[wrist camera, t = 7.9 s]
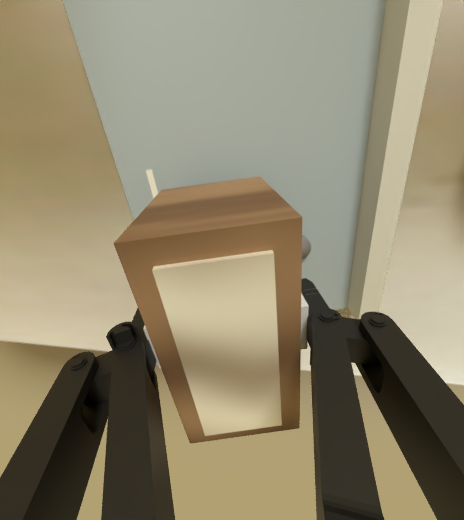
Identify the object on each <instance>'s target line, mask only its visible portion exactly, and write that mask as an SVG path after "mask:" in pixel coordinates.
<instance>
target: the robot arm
mask: <svg viewBox="0 0 464 520" xmlns="http://www.w3.org/2000/svg"><path fill="white" fill-rule="evenodd" d="M135 314H136V315H135V316H134V318H133V320H132V322H123V323H120V324H118V325H116V326H115V327H113V328H112V329H111V330H110V331H109V332H108V334H107V336H106V337H107V339H108V341H109V344H110V346H111V348H112V351H110V352H108V353H105V354H102V355H100V356H97V357H95V356H94V354H93V353H91V352H83V353H79V354H77V355H75V356H74V357H72V358H71V359H70V360H68V361H67V363H66V364H65V365H64V366H63V368H62V370H61V372H60V373H59V375H58V377H57V379H56V380H55V382H54V384H53V386H52V388H51V389H50V391H49V393H48V394H47V396H46V398H45V400H44V401H43V403H42V405H41V407H40V409H39V411H38V412H37V414H36V416H35V417H34V419H33V421H32V423H31V425H30V426H29V428H28V430H27V431H26V433H25V435H24V437H23V439H22V440H21V442H20V444H19V446H18V447H17V449H16V451H15V453H14V454H13V456H12V458H11V460H10V461H9V463H8V465H7V467H6V469H5V470H4V472H3V474H2V476H1V477H0V520H76V519H77V516H78V513H79V510H80V506H81V503H82V500H83V497H84V493H85V490H86V487H87V484H88V480H89V477H90V474H91V471H92V467H93V464H94V461H95V457H96V454H97V451H98V448H99V445H100V441H101V438H102V435H103V432H104V428H105V425H106V422H107V419H108V427H107V443H106V458H105V472H104V487H103V502H102V517H101V520H175V515H174V508H173V500H172V492H171V485H170V476H169V469H168V461H167V453H166V445H165V438H164V430H163V423H162V414H161V407H160V399H159V392H158V383H157V376H156V373H155V371H154V368H155V364H156V363H157V365H158V368H159V369H162V368H161V366H160V363H159V361H158V358H157V355H156V353H155V350H154V348H153V345H152V342H151V340H150V337H149V335H148V332H147V329H146V327H145V324H144V321H143V319H142V316H141V314H140V311H139V308H138V309H137V311H136V313H135ZM307 341H308V343H309V345H310V348H311V352H310V365H311V380H312V381H311V382H312V408H313V434H314V459H315V485H316V507H317V508H316V511H317V520H384V517H383V514H382V510H381V507H380V501H379V497H378V491H377V486H376V481H375V477H374V472H373V467H372V463H371V457H370V453H369V448H368V443H367V438H366V433H365V428H364V423H363V418H362V413H361V408H360V403H359V399H358V394H357V389H356V385H355V379H354V374H353V369H352V364H351V362H352V363H356V365H357V367H358V369H359V371H360V373H361V375H362V377H363V379H364V380H365V382H366V384H367V386H368V388H369V390H370V392H371V394H372V396H373V397H374V400H375V401H376V403H377V405H378V407H379V409H380V411H381V413H382V415H383V417H384V419H385V421H386V422H387V424H388V426H389V428H390V430H391V432H392V434H393V436H394V438H395V439H396V442H397V443H398V445H399V447H400V449H401V451H402V453H403V455H404V457H405V459H406V461H407V463H408V464H409V466H410V468H411V470H412V472H413V474H414V476H415V478H416V480H417V481H418V484H419V485H420V487H421V489H422V491H423V493H424V495H425V497H426V499H427V501H428V503H429V505H430V506H431V508H432V510H433V512H434V514H435V516H436V518H437V520H464V405H463V404H462V402H460V400H459V399H458V398H457V396H456V395H455V394H454V393H453V392H452V390H451V389H450V388H449V387H448V386H447V384H446V383H445V382H444V381H443V380H442V378H441V377H440V376H439V375H438V374H437V372H436V371H435V370H434V369H433V368H432V366H431V365H430V364H429V363H428V362H427V360H426V359H425V358H424V357H423V356H422V355H421V353H420V352H419V351H418V350H417V349H416V347H415V346H414V345H413V344H412V343H411V341H410V340H409V339H408V338H407V337H406V335H405V334H404V333H403V332H402V331H401V329H400V328H399V327H398V326H397V325H396V323H395V322H394V321H393V320H392V319H391V318H390V317H389V316H387V315H385V314H383V313H379V312H366V313H364V314H363V315H361V319H351V318H344V317H341V315H340V314H339V313H338V312H337V311H335V310H333V309H330V308H329V306H328V305H327V303H326V302H325V300H324V299H323V297H322V296H321V294H320V293H319V291H318V290H317V289H316V287H315V285H314V283H313V282H311V281H310V280H308V279H307V278H303V279H302V281H301V349H307Z"/></svg>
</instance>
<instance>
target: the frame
mask: <svg viewBox="0 0 464 520" xmlns="http://www.w3.org/2000/svg"><path fill="white" fill-rule="evenodd" d="M114 246H115V248H116V251H117V253H118V256H119V259H120V261H121V264H122V267H123V269H124V272H125V274H126V277H127V280H128V282H129V285H130V287H131V290H132V293H133V295H134V298H135V301H136V303H137V306H138V308H139V311H140V314H141V316H142V319H143V321H144V324H145V327H146V329H147V332H148V335H149V337H150V340H151V342H152V345H153V348H154V350H155V353H156V355H157V358H158V361H159V363H160V366H161V368H162V371H163V374H164V376H165V379H166V382H167V384H168V387H169V389H170V392H171V395H172V397H173V400H174V402H175V405H176V408H177V410H178V413H179V416H180V418H181V421H182V423H183V426H184V428H185V431H186V434H187V436H188V439H189V442H190V443H197V442H204V441H211V440H218V439H225V438H233V437H240V436H247V435H254V434H260V433H268V432H275V431H282V430H290V429H297V428H299V417H300V349H301V281H302V216H301V215H300V214H299V213H298V212H296V211H295V210H294V209H293V208H292V207H291V206H290V205H289V204H288V203H287V202H286V201H285V200H284V199H283V198H282V197H281V196H280V195H279V194H278V193H277V192H276V191H275V190H274V189H273V188H272V187H271V186H270V185H269V184H268V183H267V182H265V181H264V180H263V179H262V178H261V177H260V176H258V177H251V178H243V179H236V180H229V181H222V182H215V183H207V184H200V185H193V186H186V187H178V188H171V189H164V190H161V191H160V192H159V193H158V194H157V195H156V197H155V198H154V199H153V200H152V201H151V202H150V203H149V204H148V205H147V207H146V208H145V209H144V210H143V211H142V212H141V213H140V214H139V216H138V217H137V218H136V219H135V220H134V221H133V222H132V223H131V225H130V226H129V227H128V228H127V229H126V230H125V231H124V232H123V234H122V235H121V236H120V237H119V238H118V239H117V240H116V241H115V242H114Z"/></svg>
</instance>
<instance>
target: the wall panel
mask: <svg viewBox="0 0 464 520" xmlns="http://www.w3.org/2000/svg"><path fill="white" fill-rule="evenodd" d="M62 1H63V4H64V7H65V10H66V13H67V16H68V19H69V22H70V25H71V28H72V31H73V34H74V37H75V41H76V44H77V47H78V50H79V53H80V56H81V59H82V62H83V65H84V68H85V71H86V74H87V78H88V81H89V84H90V87H91V90H92V93H93V96H94V99H95V102H96V105H97V108H98V111H99V114H100V118H101V121H102V124H103V127H104V130H105V133H106V136H107V139H108V142H109V145H110V148H111V151H112V154H113V158H114V161H115V164H116V167H117V170H118V173H119V176H120V179H121V182H122V185H123V188H124V191H125V195H126V198H127V201H128V204H129V207H130V210H131V213H132V216H133V219H134V220H135V219H136V218H137V217H138V216H139V214H140V213H141V212H142V211H143V210H144V209H145V208H146V207H147V205H148V204H149V203H150V202H151V201H152V200H153V199H154V198H155V197H156V195H157V194H158V193H159V192H160V191H161V190H164V189H171V188H178V187H186V186H193V185H200V184H207V183H215V182H222V181H229V180H236V179H243V178H251V177H258V176H260V177H261V178H262V179H263V180H264V181H265V182H267V183H268V184H269V185H270V186H271V187H272V188H273V189H274V190H275V191H276V192H277V193H278V194H279V195H280V196H281V197H282V198H283V199H284V200H285V201H286V202H287V203H288V204H289V205H290V206H291V207H292V208H293V209H294V210H295V211H296V212H298V213H299V214H300V215H301V216H302V279H303V278H307V279H308V280H310V281H311V282H313V283H314V285H315V287H316V289H317V290H318V291H319V293H320V294H321V296H322V297H323V299H324V300H325V302H326V303H327V305H328V306H329V308H330V309H333V310H338V309H345V308H347V309H348V310H349V312H350V313H351V314H352V316H353V317H354V318H355V319H361V315H363V314H364V313H366V312H379V308H380V304H381V299H382V294H383V289H384V284H385V279H386V275H387V270H388V265H389V260H390V255H391V250H392V246H393V241H394V236H395V231H396V226H397V221H398V217H399V212H400V207H401V202H402V197H403V192H404V188H405V183H406V178H407V173H408V168H409V163H410V159H411V154H412V149H413V144H414V139H415V134H416V130H417V125H418V120H419V115H420V110H421V105H422V101H423V96H424V91H425V86H426V81H427V76H428V72H429V67H430V62H431V57H432V52H433V47H434V43H435V38H436V33H437V28H438V23H439V18H440V14H441V9H442V4H443V0H62Z"/></svg>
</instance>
